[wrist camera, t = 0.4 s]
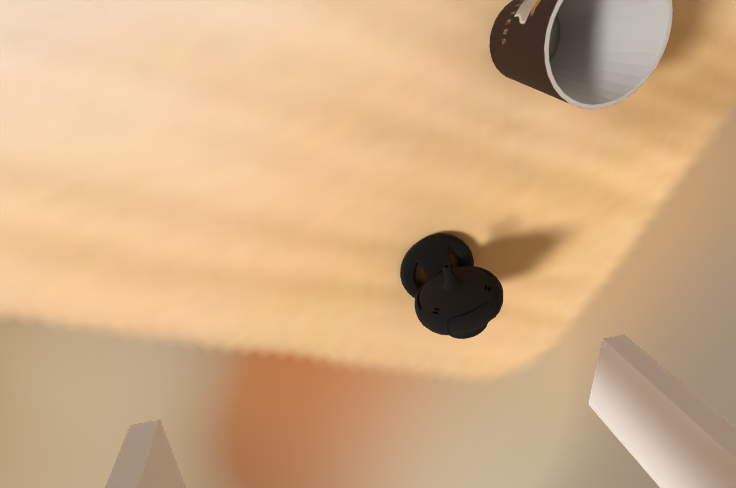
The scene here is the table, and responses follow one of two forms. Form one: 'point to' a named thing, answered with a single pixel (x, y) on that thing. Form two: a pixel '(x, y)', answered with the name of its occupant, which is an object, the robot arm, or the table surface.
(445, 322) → the webcam
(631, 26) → the coffee mug
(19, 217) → the table surface
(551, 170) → the table surface
